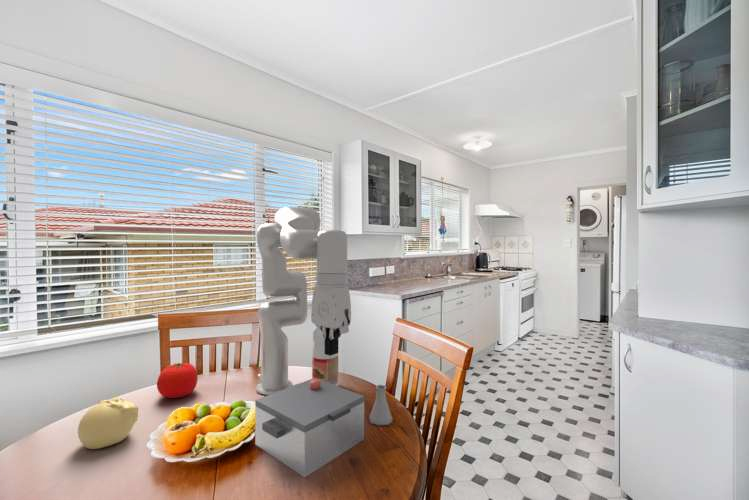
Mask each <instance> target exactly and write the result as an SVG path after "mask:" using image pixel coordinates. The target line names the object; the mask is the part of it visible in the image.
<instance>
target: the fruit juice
mask: <svg viewBox="0 0 749 500" xmlns="http://www.w3.org/2000/svg"><path fill="white" fill-rule="evenodd" d="M312 341H313V347H312V352H311V353H312V355H311V357H312V359H311V360H312V361H311V363H312V364H311V366H312V367H311V373H312V374H311V379H313V378H317V379H320V380H322V381H325V382H328V383H330V384H333V385H336V386H338V387H339V352H338V353H337V354H334V355H331V356H329V355H326V354H325V338H323V333H322V331H321V329H319V328H318V327H316V328H315V329H314V331H313V333H312Z"/></svg>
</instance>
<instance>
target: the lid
mask: <svg viewBox="0 0 749 500" xmlns="http://www.w3.org/2000/svg"><path fill="white" fill-rule="evenodd" d="M363 402H364V403H365V396H364V395H363V394H360V393H357V392H354V391H351V390H348V389H347V388H343V387H341V386H339V385H338V386H336V385H333V384H330V383H328V382H325V381H322V380H320V379H317V378H313V379H312V378H311V379H308V380H305V381H303V382H299V383H298V384H294V385H292V386H291V387H289V388H286V389H283V390H281V391H278V392H275V393H273V394H270V395H265V396H262V397H260V398H257V399H255V402H254V403H255V406H257V407H259V408H260V409H262V410H264V411H266V412H268V413H270V414H271V415H273V416H275V417H277V418H279V419H281V420H282V421H284V422H286V423H288V424H290V425H292V426H293V427H295V428H297V429H299V430H301V431H303V432H304V433H305V432H307V431H309V430H311V429H313V428H315V427H316V426H318V425H320V424H322V423H324V422H326V421H328V420H331V421H335V420H336V419H338V418H340V417H342V416H344V415H346V414H348V413H350V409H351V408H353V407H355V406H357V405H359V404H361V403H363Z"/></svg>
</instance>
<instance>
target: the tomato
mask: <svg viewBox="0 0 749 500" xmlns="http://www.w3.org/2000/svg"><path fill="white" fill-rule="evenodd" d="M198 376H199V375H198V371H197V369H196V368H195V366H194V365H193V364H191V363H188V362H180V363H179V362H178V363H172V364H170V365H168V366H166V367H165V368H164V369H163V370H162V371H160V374H159V375H158V378H157V382H156V387H157V391H158V393H159V395H161V396H162V397H165V398H170V399H175V398H176V399H177V398H178V399H179V398H182V397H185V396H188V395H190V394H191V393H192V392H194V390H195V389H196V387H197V384H198Z"/></svg>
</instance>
